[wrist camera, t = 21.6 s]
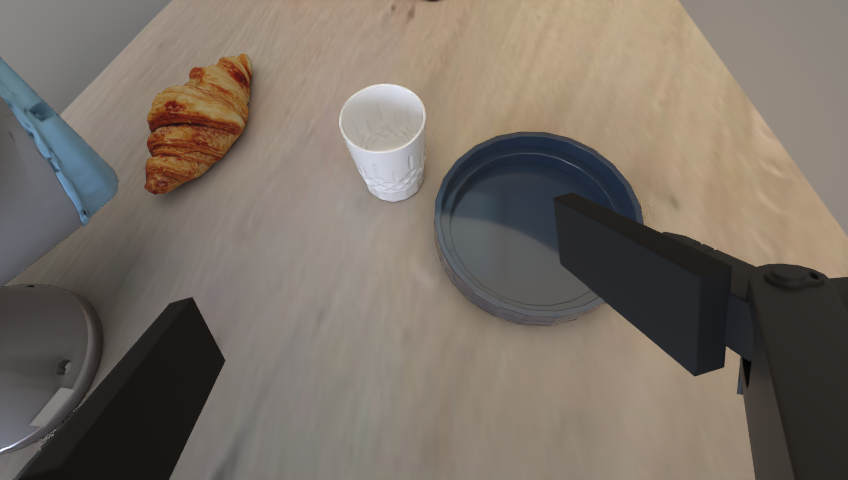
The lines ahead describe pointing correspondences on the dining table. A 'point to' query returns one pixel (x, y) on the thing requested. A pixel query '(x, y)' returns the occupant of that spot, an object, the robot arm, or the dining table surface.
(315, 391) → the dining table surface
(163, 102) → the croissant
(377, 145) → the white cup
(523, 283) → the plate
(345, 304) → the dining table surface
